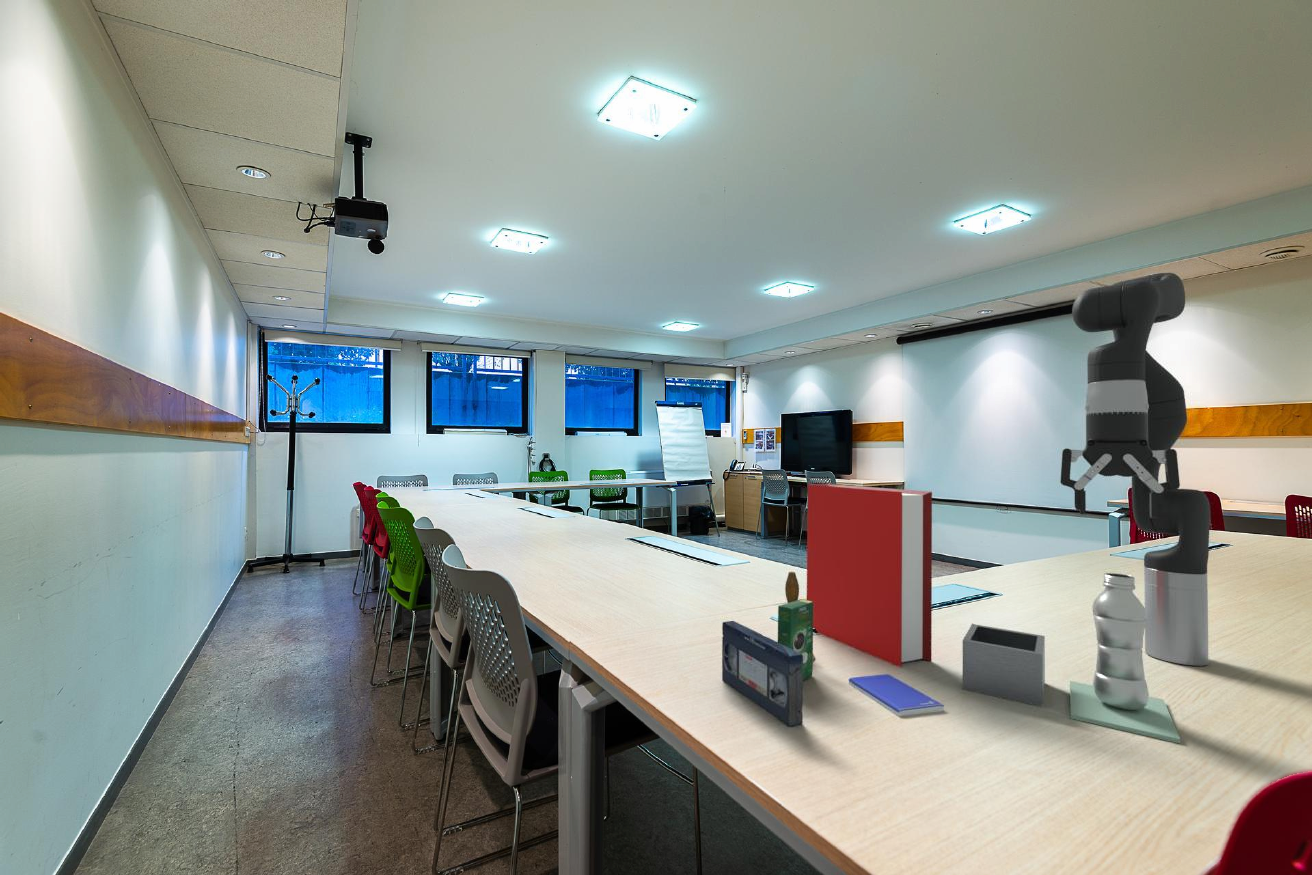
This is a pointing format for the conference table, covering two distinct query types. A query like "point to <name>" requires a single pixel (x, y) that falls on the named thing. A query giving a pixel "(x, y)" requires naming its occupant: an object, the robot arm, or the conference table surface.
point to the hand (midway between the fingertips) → (1117, 515)
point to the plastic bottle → (1120, 644)
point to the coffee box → (797, 631)
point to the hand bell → (792, 589)
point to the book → (871, 569)
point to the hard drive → (895, 695)
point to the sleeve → (1004, 664)
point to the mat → (1122, 714)
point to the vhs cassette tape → (763, 672)
